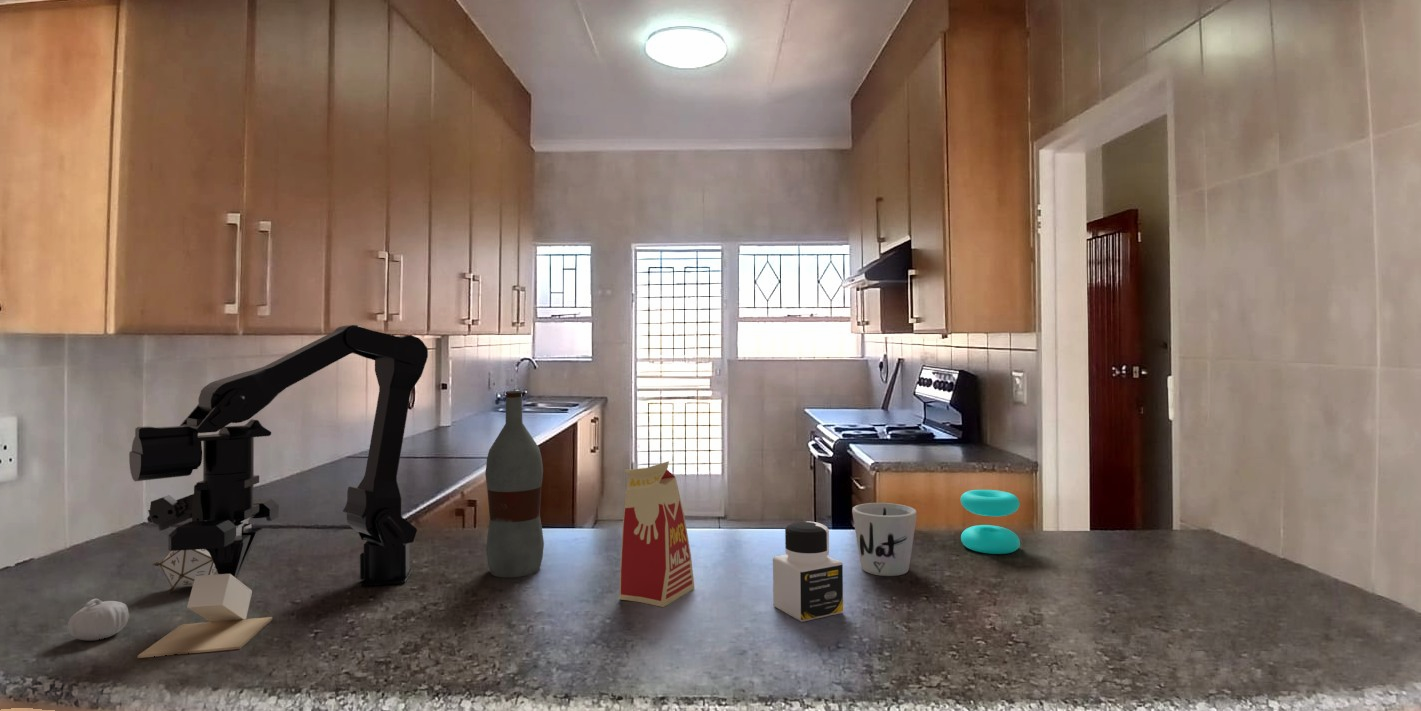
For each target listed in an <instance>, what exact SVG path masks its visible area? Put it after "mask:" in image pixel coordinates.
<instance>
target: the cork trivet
mask: <svg viewBox="0 0 1421 711" xmlns="http://www.w3.org/2000/svg"><path fill="white" fill-rule="evenodd" d="M272 620H273V616H267V617H254V618H246V619H241V620H229V621H216V622H210V621H207V622H205V621H204V622H195V623H183V624H180V625H178V626H177V627H175V628H174V629H173V630H172V631H170V632H169V633H167V634H166V635H165V636H163V637H161V639H159V640H158V641H156V642H155V643H153V644H152V645H150V646H149V647H148V648H146V649H145V650H143V651H142V652H141V653H139V654H138V655H137V659H142V658H143V659H144V658H153V657H154V656H155V657H165V655H167V656H175V655H174V654H178V655H187V654H188V653H189V654H197V653H198V654H199V653H200V654H201V653H209V652H221V651H222V652H223V651H233V650H241V649H242V648H243V647H244V646H245V645H246V644H247V643H249V641H251V640H252V638H254V637H255V636H256V635H257V634H258V633H259V632H260V631H261V630H262V629H263V628H264V627H266V626H267V624H269V623H270V622H271V621H272Z"/></svg>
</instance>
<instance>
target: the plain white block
mask: <svg viewBox="0 0 1421 711" xmlns="http://www.w3.org/2000/svg"><path fill="white" fill-rule="evenodd" d="M252 593H253V590H252V589H250V588H249V587H248V586H246V585H245V584H244V583H243V582H242V581H240V580H239V579H238V578H237V579H236V578H235V577H234V576H233V575H231V574H218V573H216V574H214V575H202V576H195V580H194V584H193V586H192V588H191V591H190V595H189V599H188V602H187V607H186V608H187V609H188V610H190V611H192V612H194V613H195V614H197V615H199V616H201V617H202V618H204V620H207V622H216V621H229V620H241V619H247V616H248V612H249V608H250V603H251V600H252V599H251V598H252Z"/></svg>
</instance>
